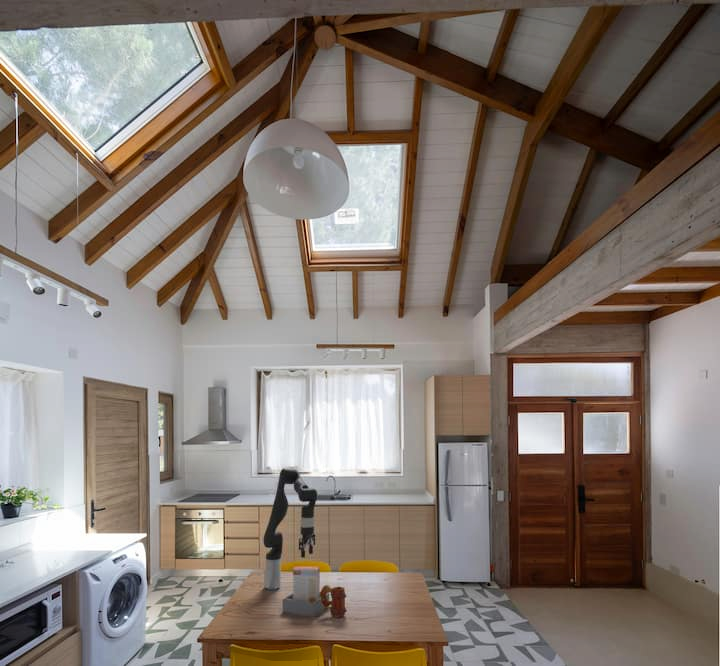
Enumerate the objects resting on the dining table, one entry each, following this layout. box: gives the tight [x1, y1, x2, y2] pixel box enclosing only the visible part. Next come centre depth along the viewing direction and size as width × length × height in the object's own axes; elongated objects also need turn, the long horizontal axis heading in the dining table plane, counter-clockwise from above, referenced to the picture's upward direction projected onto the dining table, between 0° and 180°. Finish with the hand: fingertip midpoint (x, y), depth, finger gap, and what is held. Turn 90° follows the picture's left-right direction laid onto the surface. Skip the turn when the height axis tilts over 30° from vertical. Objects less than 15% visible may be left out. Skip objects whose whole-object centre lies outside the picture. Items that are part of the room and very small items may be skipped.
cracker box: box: [292, 565, 321, 603], centre depth 309 cm, size 14×6×21 cm, turn 83°
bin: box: [282, 591, 330, 618], centre depth 307 cm, size 19×19×7 cm
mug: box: [320, 584, 348, 619], centre depth 299 cm, size 15×8×15 cm, turn 71°
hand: (306, 555), depth 311 cm, fingers open, 8 cm apart
